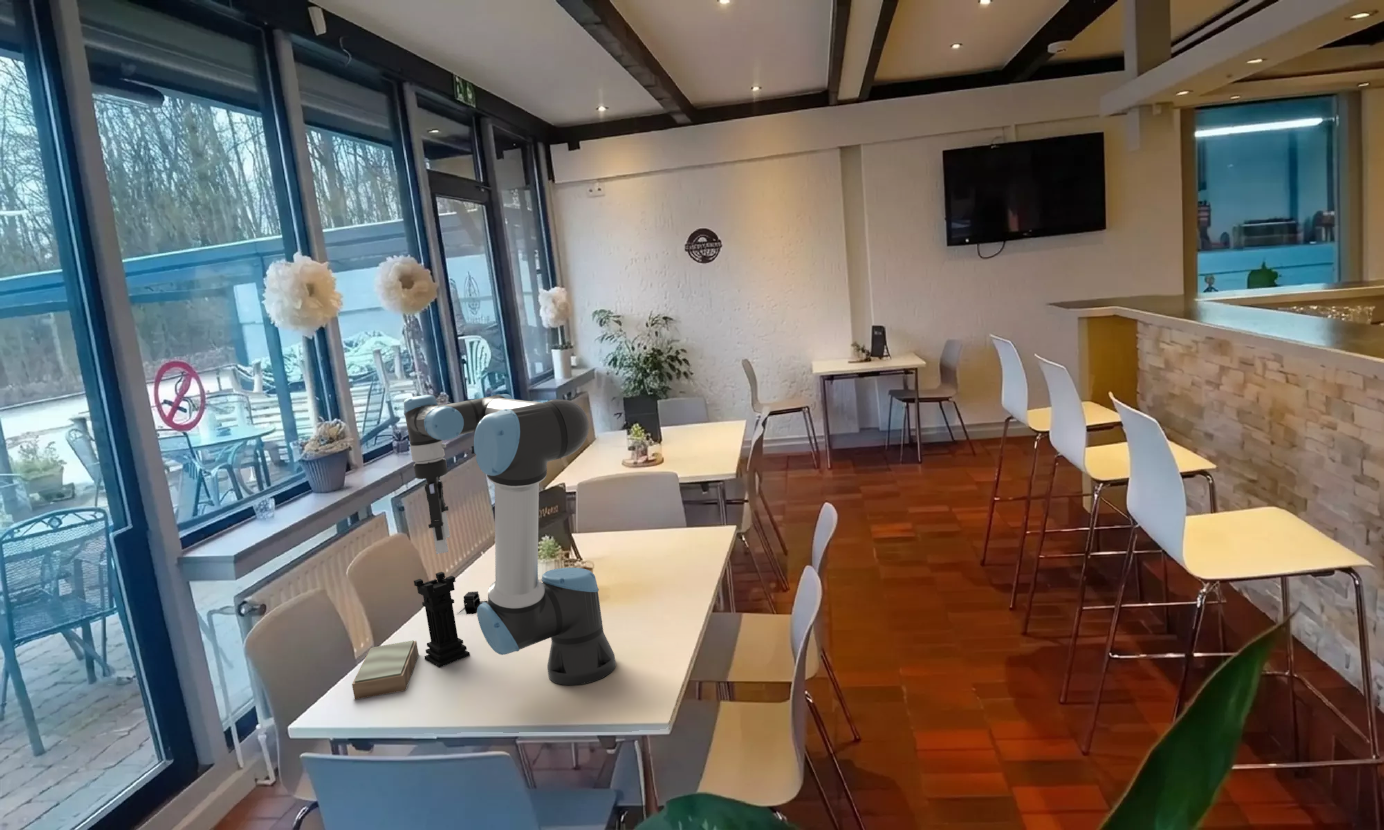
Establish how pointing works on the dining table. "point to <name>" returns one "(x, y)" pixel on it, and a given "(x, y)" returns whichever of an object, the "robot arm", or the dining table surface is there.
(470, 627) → the dining table surface
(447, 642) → the chess piece
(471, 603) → the black blocky piece
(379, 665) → the walnut stand
